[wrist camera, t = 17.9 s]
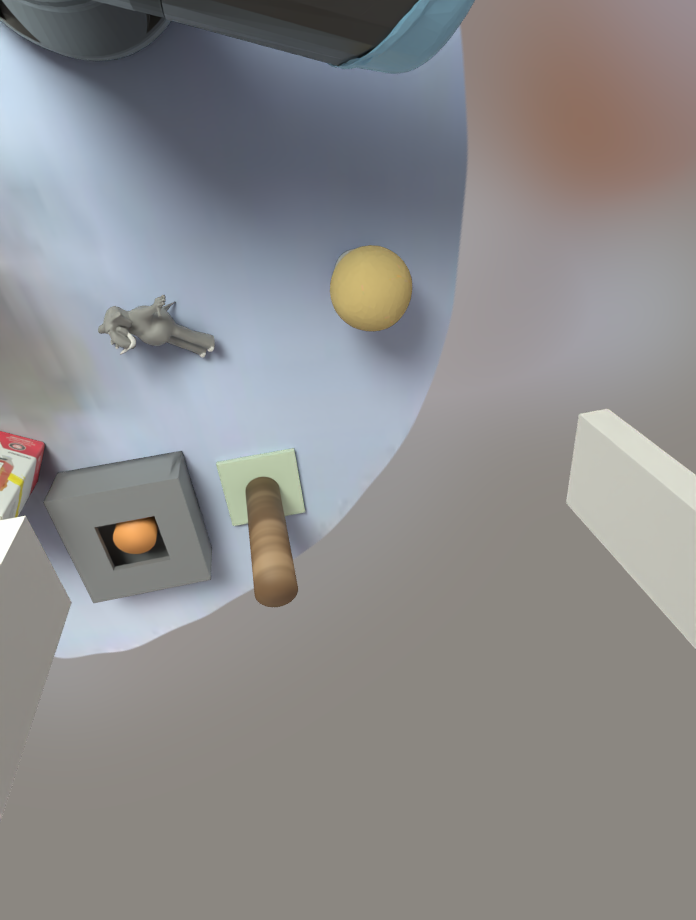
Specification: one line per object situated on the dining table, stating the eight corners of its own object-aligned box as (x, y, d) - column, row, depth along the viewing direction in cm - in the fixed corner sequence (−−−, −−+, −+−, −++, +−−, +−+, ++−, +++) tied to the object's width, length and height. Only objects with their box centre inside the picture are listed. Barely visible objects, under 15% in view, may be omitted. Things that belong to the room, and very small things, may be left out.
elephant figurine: (179, 391, 52) (78, 364, 46) (183, 333, 53) (87, 299, 47) (238, 360, 45) (129, 324, 39) (241, 294, 46) (136, 249, 40)
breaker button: (112, 508, 55) (107, 526, 53) (152, 500, 56) (149, 518, 53) (125, 538, 58) (120, 557, 55) (163, 531, 58) (160, 549, 56)
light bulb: (374, 313, 51) (403, 351, 43) (309, 294, 49) (326, 329, 41) (399, 244, 48) (435, 269, 40) (331, 220, 46) (353, 242, 38)
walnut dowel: (241, 480, 57) (250, 581, 45) (276, 473, 58) (293, 570, 45) (249, 507, 59) (259, 611, 47) (282, 500, 59) (301, 601, 47)
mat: (216, 462, 56) (216, 465, 56) (293, 448, 57) (294, 451, 57) (233, 522, 61) (233, 526, 60) (304, 508, 61) (305, 512, 61)
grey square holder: (57, 472, 54) (43, 502, 49) (181, 450, 55) (178, 478, 51) (103, 570, 61) (94, 604, 56) (212, 549, 62) (211, 580, 58)
